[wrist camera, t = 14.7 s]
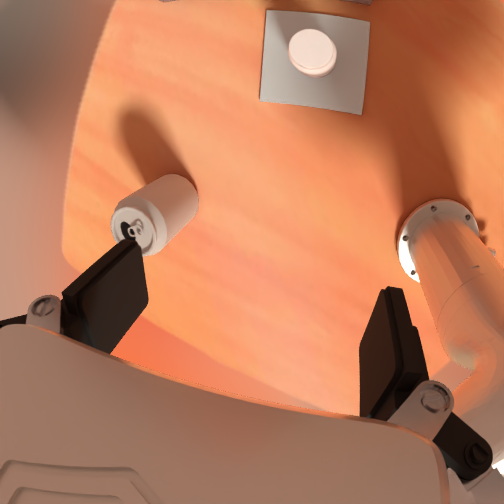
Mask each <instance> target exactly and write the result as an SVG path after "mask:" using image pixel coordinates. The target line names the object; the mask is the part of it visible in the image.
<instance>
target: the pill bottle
mask: <svg viewBox="0 0 504 504" xmlns="http://www.w3.org/2000/svg"><path fill="white" fill-rule="evenodd" d="M288 56H289V59H290V61H291V63H292V64H293V65H294V66H295V68H297V69H298V70H299V71H300V72H301V73H302V74H304V75H305V76H308V77H311V78H321V77H324V76H326V75H328V74H329V73H330V72H331V71H332V70H333V68H334V66H335V62H336V57H337V51H336V47H335V45H334V43H333V41H332V40H331V39H330V38H329V37H328V36H327V35H326V34H324V33H323V32H321V31H319V30H316V29H304V30H301V31H299V32H297V33H296V34H294V35H293V36H292V38H291V40H290V42H289V46H288Z"/></svg>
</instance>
